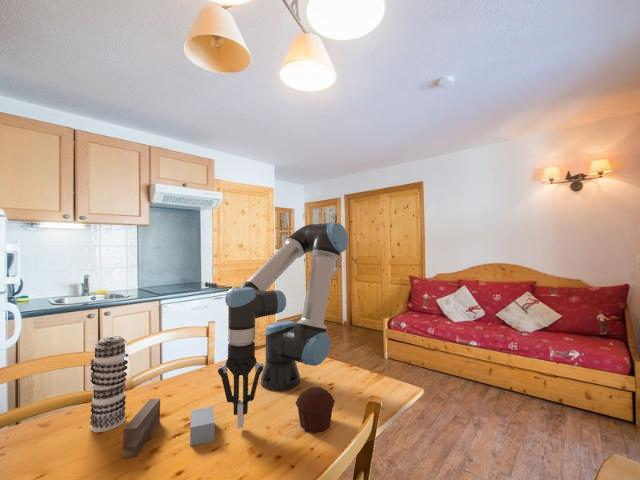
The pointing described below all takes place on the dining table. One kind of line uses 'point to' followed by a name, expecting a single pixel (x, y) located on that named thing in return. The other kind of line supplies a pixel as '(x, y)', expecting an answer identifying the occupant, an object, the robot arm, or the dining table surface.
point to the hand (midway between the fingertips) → (240, 425)
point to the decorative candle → (108, 384)
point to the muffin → (315, 409)
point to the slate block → (202, 426)
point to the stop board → (141, 428)
